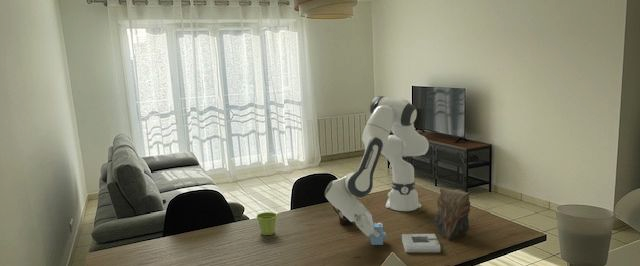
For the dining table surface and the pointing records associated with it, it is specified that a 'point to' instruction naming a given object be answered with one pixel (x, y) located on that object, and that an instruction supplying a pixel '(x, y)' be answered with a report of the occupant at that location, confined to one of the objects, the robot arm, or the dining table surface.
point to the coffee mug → (343, 218)
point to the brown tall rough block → (452, 213)
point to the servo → (379, 239)
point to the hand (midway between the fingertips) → (378, 233)
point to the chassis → (420, 243)
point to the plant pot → (267, 222)
